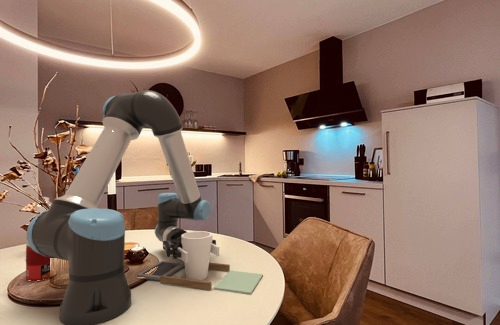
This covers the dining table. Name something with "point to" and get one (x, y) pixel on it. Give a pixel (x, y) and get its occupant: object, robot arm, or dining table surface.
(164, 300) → the dining table surface
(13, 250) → the dining table surface
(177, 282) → the channel rails
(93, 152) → the robot arm
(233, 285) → the pad
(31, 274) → the canned food
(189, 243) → the foam cup
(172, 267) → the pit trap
